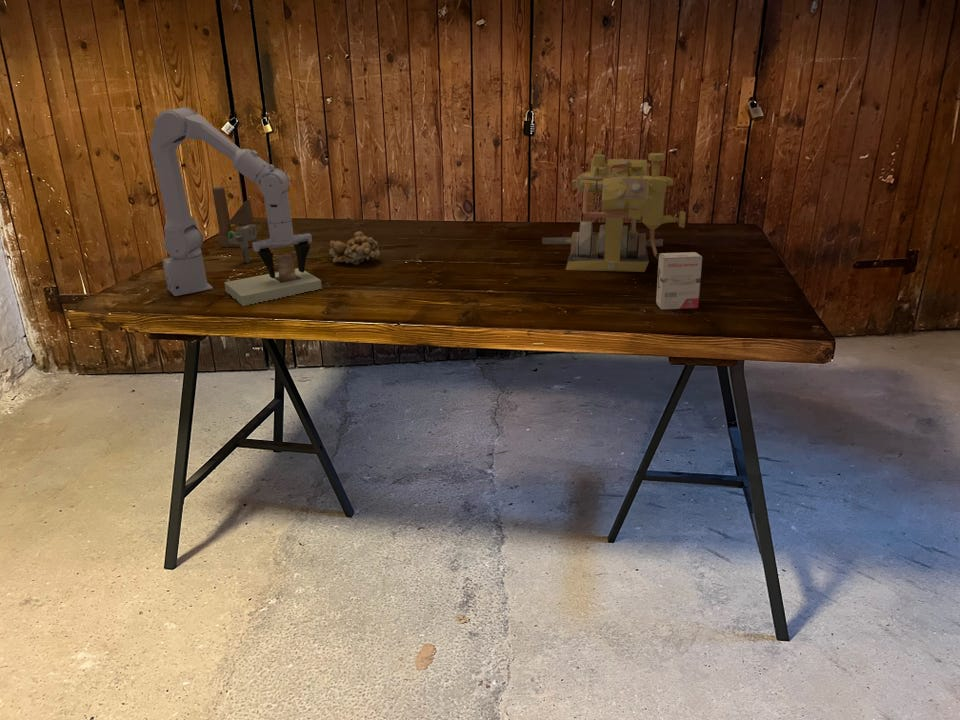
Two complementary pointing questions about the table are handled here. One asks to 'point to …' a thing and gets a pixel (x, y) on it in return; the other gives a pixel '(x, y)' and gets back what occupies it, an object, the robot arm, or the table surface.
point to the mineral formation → (354, 249)
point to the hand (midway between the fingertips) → (287, 274)
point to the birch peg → (286, 268)
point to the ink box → (678, 280)
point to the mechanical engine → (619, 215)
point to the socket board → (270, 287)
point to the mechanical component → (243, 238)
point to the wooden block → (224, 222)
